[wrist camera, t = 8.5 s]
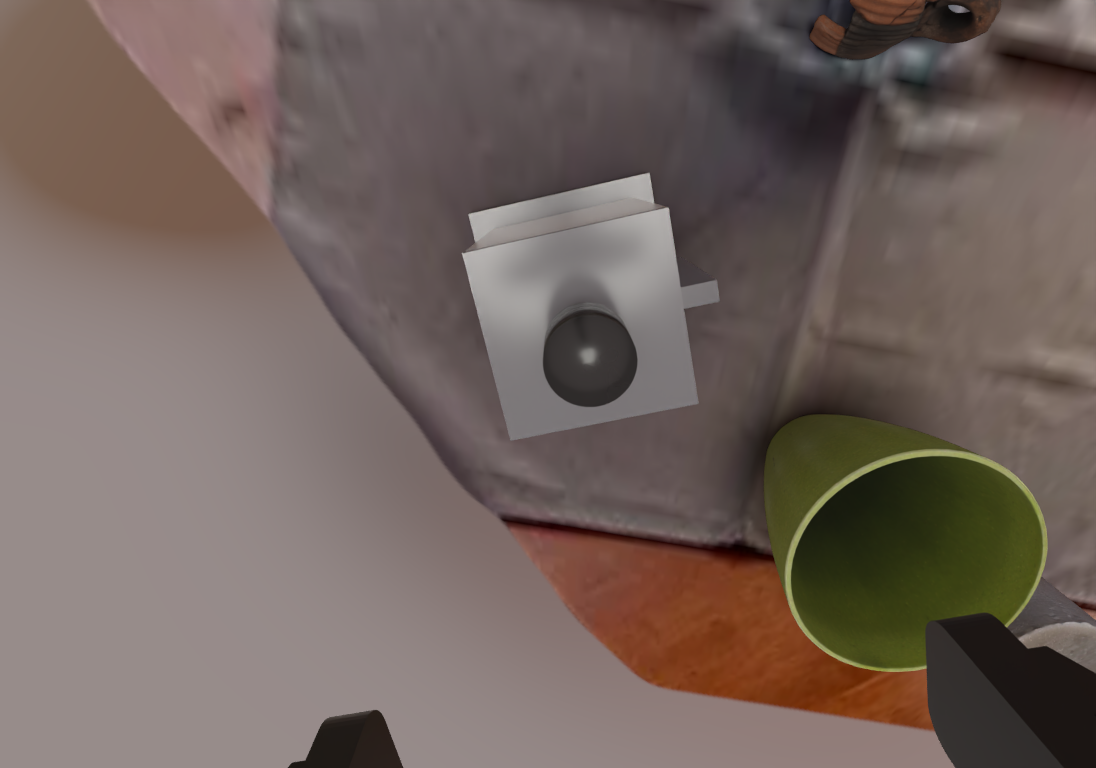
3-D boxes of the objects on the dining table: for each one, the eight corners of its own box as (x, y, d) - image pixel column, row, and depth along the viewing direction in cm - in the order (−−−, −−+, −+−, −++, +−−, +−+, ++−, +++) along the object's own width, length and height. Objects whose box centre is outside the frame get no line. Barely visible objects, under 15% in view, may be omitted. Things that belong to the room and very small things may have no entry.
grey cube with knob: (471, 212, 46) (426, 231, 30) (660, 169, 45) (714, 165, 29) (512, 377, 50) (491, 468, 34) (686, 342, 49) (747, 419, 33)
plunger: (509, 243, 43) (474, 290, 25) (622, 218, 43) (669, 248, 25) (534, 352, 46) (519, 464, 28) (642, 330, 45) (697, 430, 27)
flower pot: (706, 388, 50) (771, 480, 35) (897, 348, 49) (1051, 426, 33) (731, 547, 54) (799, 690, 39) (906, 514, 53) (1046, 649, 38)
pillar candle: (988, 607, 56) (1138, 752, 42) (878, 616, 56) (988, 762, 42) (1000, 511, 53) (1165, 630, 39) (883, 521, 53) (1004, 643, 39)
